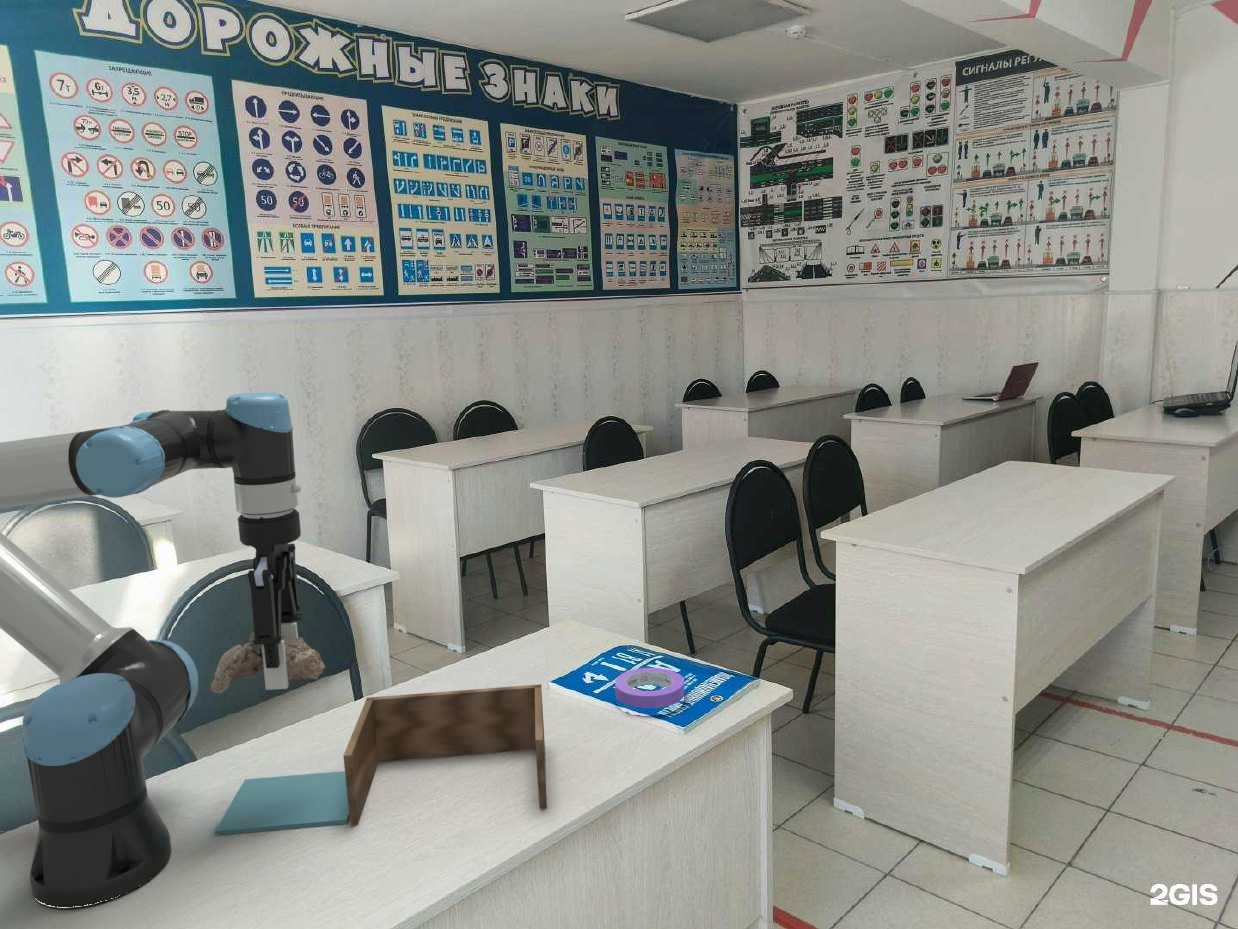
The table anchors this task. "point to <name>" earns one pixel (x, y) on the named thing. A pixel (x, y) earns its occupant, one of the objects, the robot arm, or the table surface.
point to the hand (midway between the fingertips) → (283, 677)
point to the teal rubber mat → (287, 803)
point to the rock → (250, 663)
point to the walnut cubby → (443, 732)
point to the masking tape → (649, 677)
